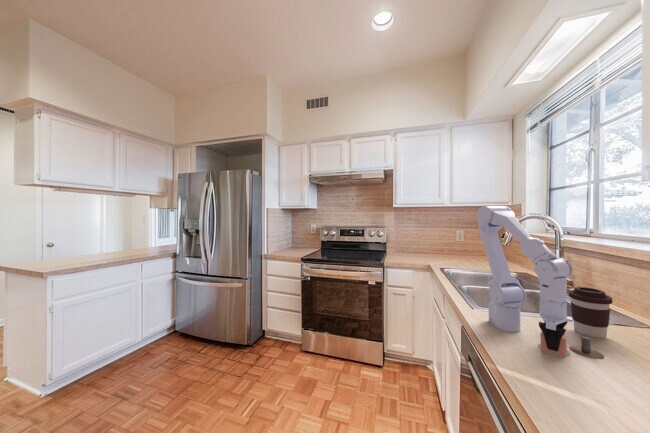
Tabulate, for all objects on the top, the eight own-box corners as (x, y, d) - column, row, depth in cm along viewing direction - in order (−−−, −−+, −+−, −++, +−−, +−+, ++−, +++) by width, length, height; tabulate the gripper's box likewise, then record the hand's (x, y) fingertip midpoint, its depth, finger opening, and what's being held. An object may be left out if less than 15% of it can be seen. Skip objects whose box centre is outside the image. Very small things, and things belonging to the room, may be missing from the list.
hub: (562, 348, 74) (561, 332, 74) (584, 347, 74) (584, 331, 74) (587, 362, 67) (587, 344, 67) (612, 361, 67) (612, 344, 67)
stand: (531, 346, 75) (531, 330, 75) (554, 345, 75) (553, 330, 75) (553, 359, 68) (553, 342, 68) (577, 359, 68) (577, 342, 68)
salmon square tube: (540, 349, 72) (540, 332, 72) (542, 343, 75) (542, 326, 75) (565, 357, 68) (565, 339, 68) (566, 349, 71) (566, 332, 71)
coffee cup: (598, 344, 75) (597, 295, 75) (561, 329, 85) (560, 286, 85) (621, 340, 78) (620, 293, 77) (582, 326, 87) (582, 284, 87)
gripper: (571, 310, 64) (572, 362, 64) (573, 296, 73) (574, 341, 73) (535, 303, 69) (536, 351, 69) (542, 291, 79) (542, 333, 79)
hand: (553, 345), depth 71 cm, fingers closed on salmon square tube, 5 cm apart
